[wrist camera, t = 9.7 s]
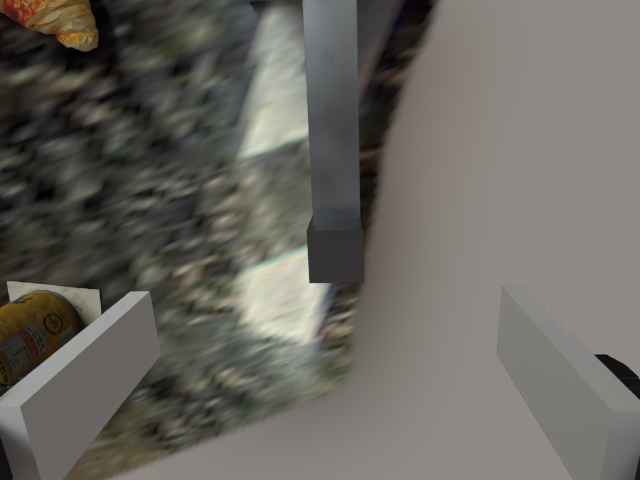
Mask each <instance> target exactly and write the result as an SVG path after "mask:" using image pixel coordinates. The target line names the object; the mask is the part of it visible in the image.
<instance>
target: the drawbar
mask: <svg viewBox="0 0 640 480" xmlns="http://www.w3.org/2000/svg"><path fill="white" fill-rule="evenodd" d="M303 19H304V40H305V61H306V82H307V103H308V124H309V145H310V167H311V188H312V209H313V216H312V218H311V221H310V224H309V226H308V229H307V245H308V264H309V283H355V282H364V254H363V224H362V215H361V206H360V174H359V110H358V46H357V0H303Z"/></svg>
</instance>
